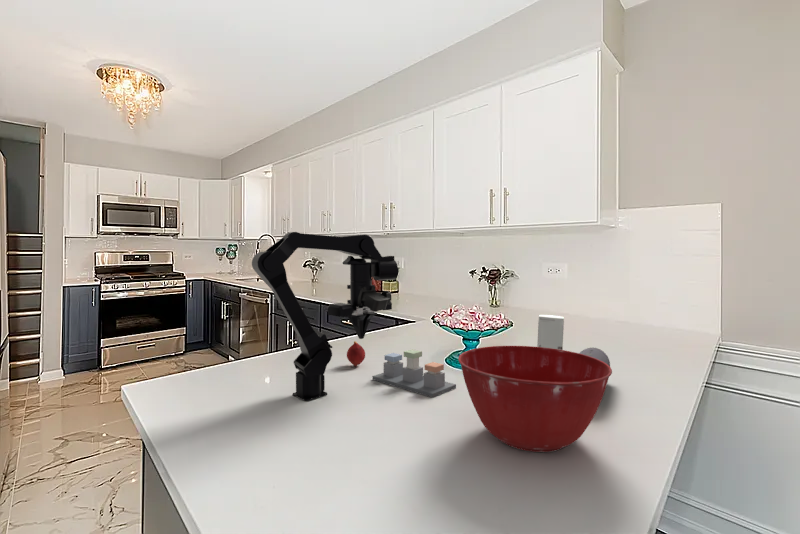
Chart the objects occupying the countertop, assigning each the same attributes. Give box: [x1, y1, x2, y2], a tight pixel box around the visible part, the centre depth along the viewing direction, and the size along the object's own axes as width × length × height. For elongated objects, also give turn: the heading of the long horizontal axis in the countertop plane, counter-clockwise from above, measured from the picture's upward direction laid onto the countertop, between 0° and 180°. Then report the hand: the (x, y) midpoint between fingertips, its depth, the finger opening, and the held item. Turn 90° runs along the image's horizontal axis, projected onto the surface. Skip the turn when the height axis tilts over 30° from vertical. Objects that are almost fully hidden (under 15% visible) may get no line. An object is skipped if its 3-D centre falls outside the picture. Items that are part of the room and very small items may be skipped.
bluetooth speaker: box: [578, 347, 611, 367], centre depth 110 cm, size 23×9×10 cm, turn 149°
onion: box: [346, 340, 366, 367], centre depth 135 cm, size 6×6×8 cm
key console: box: [372, 361, 457, 399], centre depth 117 cm, size 10×22×4 cm, turn 47°
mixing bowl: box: [457, 345, 613, 453], centre depth 84 cm, size 28×28×16 cm
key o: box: [384, 352, 403, 365], centre depth 122 cm, size 4×4×5 cm
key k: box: [424, 361, 445, 375], centre depth 112 cm, size 4×4×5 cm
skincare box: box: [536, 314, 565, 350], centre depth 142 cm, size 8×6×15 cm
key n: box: [403, 349, 423, 370], centre depth 117 cm, size 4×4×5 cm
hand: (361, 338), depth 115 cm, fingers closed
